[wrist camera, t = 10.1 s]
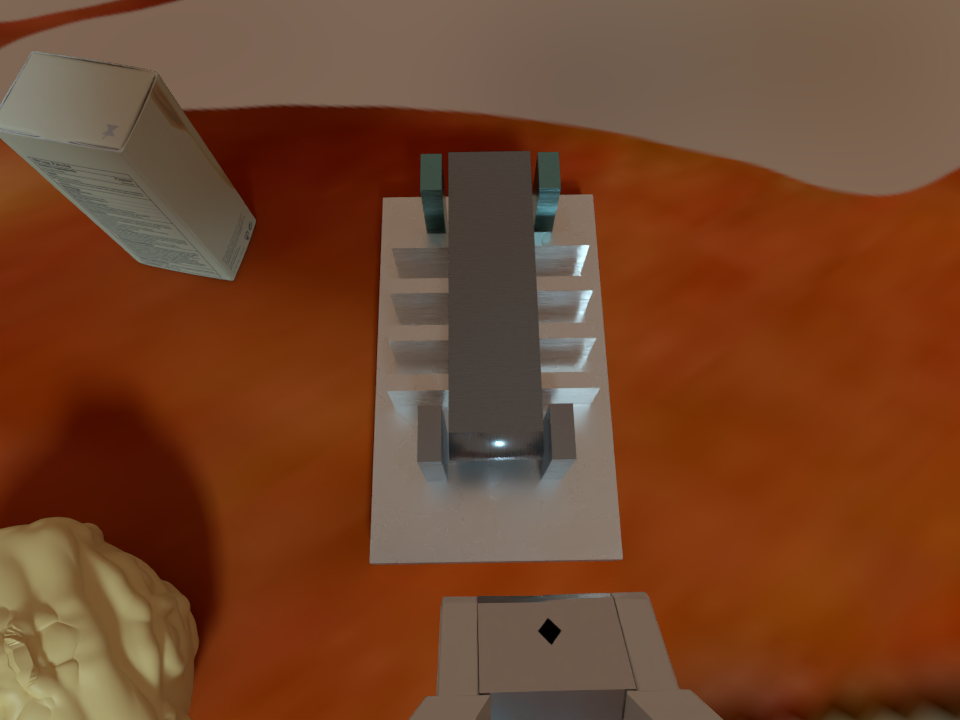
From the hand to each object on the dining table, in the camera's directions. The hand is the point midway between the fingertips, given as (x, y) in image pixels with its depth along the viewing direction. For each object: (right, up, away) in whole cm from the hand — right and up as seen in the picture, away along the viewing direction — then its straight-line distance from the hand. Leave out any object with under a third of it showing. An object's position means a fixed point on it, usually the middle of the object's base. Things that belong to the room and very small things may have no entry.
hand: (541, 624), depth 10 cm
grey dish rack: (0, +3, +27) cm, 27 cm away
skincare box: (-18, +11, +29) cm, 36 cm away
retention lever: (0, +1, +19) cm, 19 cm away
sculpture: (-19, -11, +22) cm, 31 cm away
